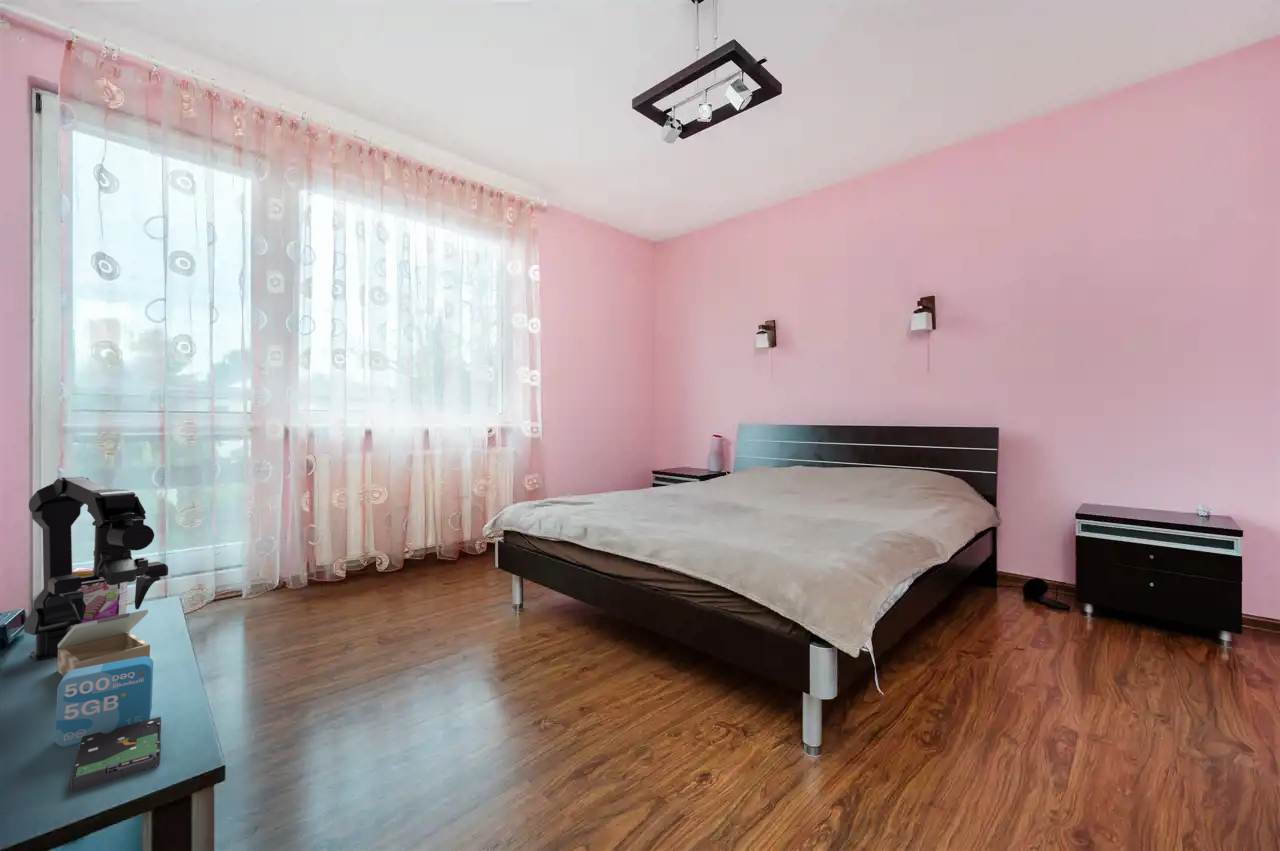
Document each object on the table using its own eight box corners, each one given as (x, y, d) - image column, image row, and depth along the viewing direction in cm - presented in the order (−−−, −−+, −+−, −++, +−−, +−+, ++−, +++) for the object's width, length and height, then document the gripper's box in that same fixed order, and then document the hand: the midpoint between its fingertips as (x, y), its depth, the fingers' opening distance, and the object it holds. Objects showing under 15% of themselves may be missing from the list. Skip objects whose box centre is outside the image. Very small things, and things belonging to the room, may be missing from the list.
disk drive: (79, 753, 91) (69, 796, 80) (80, 736, 91) (70, 777, 80) (160, 730, 98) (161, 767, 87) (161, 715, 98) (162, 750, 87)
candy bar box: (63, 633, 141) (65, 572, 141) (73, 627, 145) (75, 567, 146) (118, 627, 146) (120, 568, 146) (126, 621, 150) (128, 564, 150)
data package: (54, 750, 91) (57, 680, 91) (60, 738, 94) (62, 670, 94) (149, 726, 98) (151, 662, 98) (151, 716, 102) (153, 653, 102)
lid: (56, 649, 120) (56, 645, 120) (127, 633, 130) (127, 629, 130) (76, 626, 113) (76, 622, 113) (149, 611, 123) (149, 607, 123)
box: (57, 670, 119) (57, 648, 119) (128, 652, 130) (128, 632, 130) (75, 687, 112) (76, 663, 112) (149, 666, 123) (150, 644, 123)
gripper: (63, 558, 108) (60, 635, 107) (178, 543, 124) (176, 609, 123) (48, 551, 113) (45, 624, 113) (160, 537, 129) (158, 601, 129)
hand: (110, 614), depth 120 cm, fingers open, 9 cm apart
